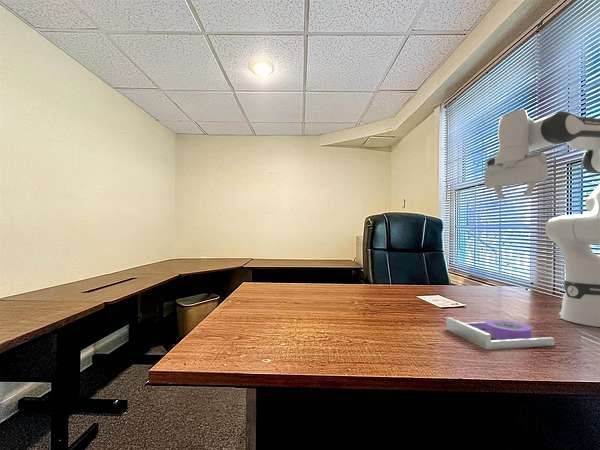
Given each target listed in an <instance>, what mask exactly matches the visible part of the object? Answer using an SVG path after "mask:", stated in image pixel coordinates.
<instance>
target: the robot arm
mask: <svg viewBox="0 0 600 450" xmlns="http://www.w3.org/2000/svg"><path fill="white" fill-rule="evenodd" d="M497 129H498V130H497V140H498V142H499V147H498V149H497V152H498V153H497V154H496V155H494V156H493V157H492V158H490V159H488V160H487V161H485V162H484V166H485V168H486V169H485V171H484V179H483V180H484V182H483V184H484V186H485V187H486V188H487V189H493V190H494V192H495V194H496V195H497V200H505V198H506V194H505V193H503V192H502V190H503V187H509V186H516V185H523V184H526V185H527V189H526V190H524V191H523V196H524V197H532V196H533V190H534V189H535V188H536V186H537V185H536V183H538V182H543V181H546V180H547V179H548V177H549V170H548V164H547V155H546V154H545V153H544V152H541V151H538V150H541V149H545V148H548V147H552V146H556V145H559V144H561V145H562V144H565V143H566V144H567V145H568V146H569V148H571V149H573V150H576V151H584V153H583V155H582V158H581V163H582V167H583V169H584V170H585V171H587V172H588V173H589V174H590V173H591V174H600V118H595V117H587V116H585V117H584V116H580V115H577V114H575V113H573V112H569V111H567V110H562V111H561V110H560V111H557V112H556V113H553V114H551V115H549V116H547V117H544V118H541V119H539V120H534V119H532V118H530V117H529V116H528V112H527V110H526V109H517V110H513V111H510V112H507V113H505V114H503V115H502V116H501V117H500V118H499V121H498V127H497ZM533 151H537V152H535V153H530V152H533ZM585 208H586V210H587V211H588V212H587V213H581V214H580V213H579V214H577V213H576V214H564V215H559V216H556V217H551V218H549V220H547V222H546V225H545V227H544V231H545V235H546V236H547V238H548V239H549V240H551V241H552V242H554V243H555V244H556V246H557V247H558V248H559V250H560V252H561V254H562V256H563V260H564V269H565V280H564V281H563V282H564V284H563V289H564V290H565V293H563V295H562V303H561V311H559V313H558V315H559V316H560V319H562V320H563V321H566V322H570V323H575V324H579V325H584V326H590V327H598V328H600V256H599V255H597V254H595V253H594V251H593V250H592V248H591V245H598V246H599V245H600V183H599V184H598V185H597V186H596V187H595V188H594V189H593V190H592V192H591V193H590V195H588V197H587V198H586V200H585Z"/></svg>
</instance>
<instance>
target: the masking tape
mask: <svg viewBox="0 0 600 450" xmlns="http://www.w3.org/2000/svg"><path fill="white" fill-rule="evenodd" d="M484 322H485V327H486V329H485V332H486V333H489V334H491V339H493V340H508V339H526V338H533V336H532V333H533V332H532V327H531V326H529V325H527V324H524V323H520V322H516V321H511V320H504V319H489V320H486V321H484Z"/></svg>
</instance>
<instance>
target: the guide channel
mask: <svg viewBox="0 0 600 450" xmlns="http://www.w3.org/2000/svg"><path fill="white" fill-rule="evenodd" d="M445 320H446V321H445V324H446V325H445V329H446V331H448V332H450V333H452V334H454V335H457V336H458V337H460V338H462V339H464V340H466V341H468V342H471V343H472V344H473V345H474V344H475V345H477V346H479V347H480V348H482V349H484V350H501V349H516V348H517V349H519V348H533V347H550V346H552V347H553V346H555V343H556V342H555V338H554V337H552V336H545V337H532V338H526V339H508V340H497V339H493V340H492V338H491V334H489V333H486V331H484V330H486V327H485V322H486V321H479V322H478V321H473V322H463V321H461V320H458V319H455V318H453V317H450V316H449V317H448V316H446V319H445Z"/></svg>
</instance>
